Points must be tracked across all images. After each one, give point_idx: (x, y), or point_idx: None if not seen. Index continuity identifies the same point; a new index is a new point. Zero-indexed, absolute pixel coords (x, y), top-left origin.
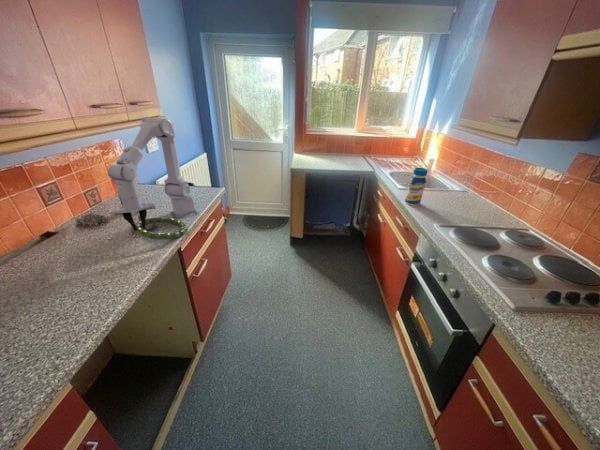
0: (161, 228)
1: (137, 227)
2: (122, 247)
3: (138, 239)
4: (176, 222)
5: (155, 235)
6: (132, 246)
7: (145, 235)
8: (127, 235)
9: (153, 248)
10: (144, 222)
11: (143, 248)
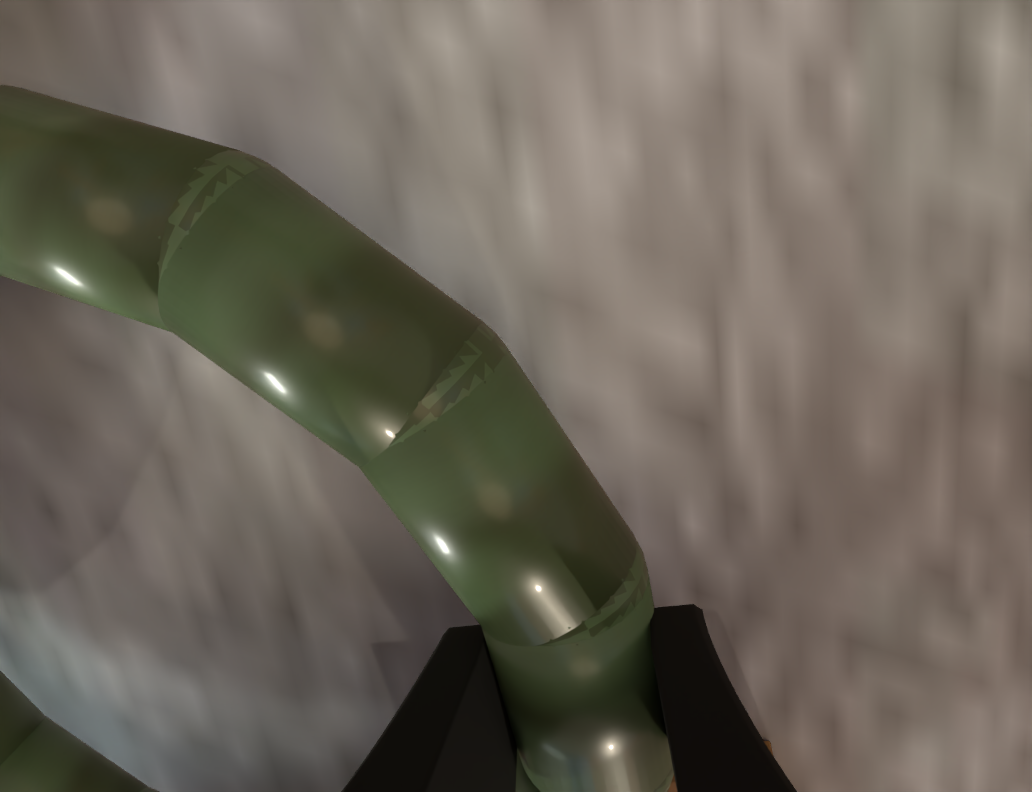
0: (343, 736)
1: (614, 678)
2: (971, 318)
3: (679, 520)
4: (9, 765)
5: (64, 157)
6: (777, 291)
7: (371, 262)
8: (870, 705)
9: (328, 44)
10: (361, 773)
11: (545, 122)
